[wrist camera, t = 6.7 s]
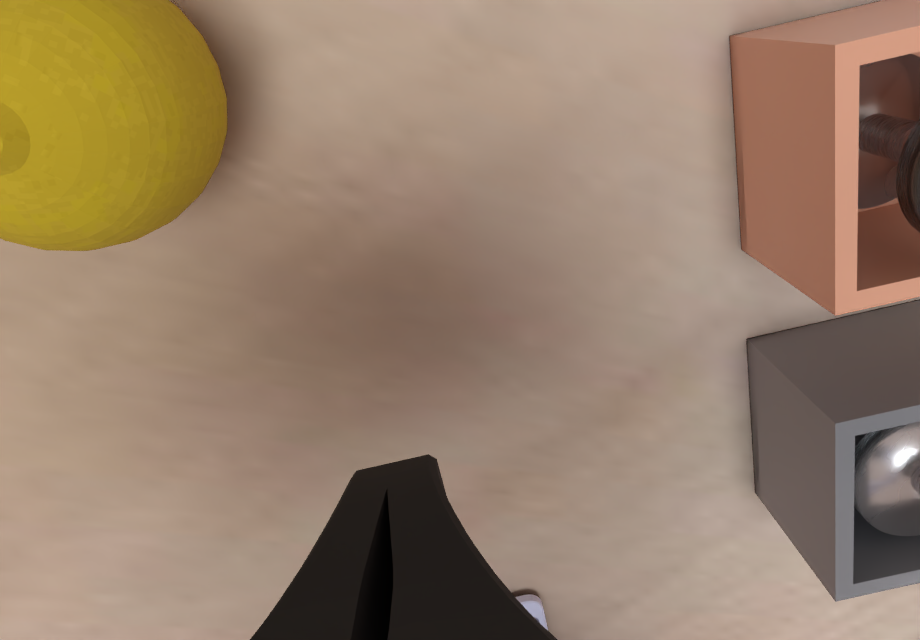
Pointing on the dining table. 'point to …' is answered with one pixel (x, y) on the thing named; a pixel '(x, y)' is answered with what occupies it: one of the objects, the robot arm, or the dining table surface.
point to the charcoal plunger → (889, 479)
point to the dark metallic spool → (890, 135)
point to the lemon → (103, 120)
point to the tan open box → (820, 156)
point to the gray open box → (834, 438)
